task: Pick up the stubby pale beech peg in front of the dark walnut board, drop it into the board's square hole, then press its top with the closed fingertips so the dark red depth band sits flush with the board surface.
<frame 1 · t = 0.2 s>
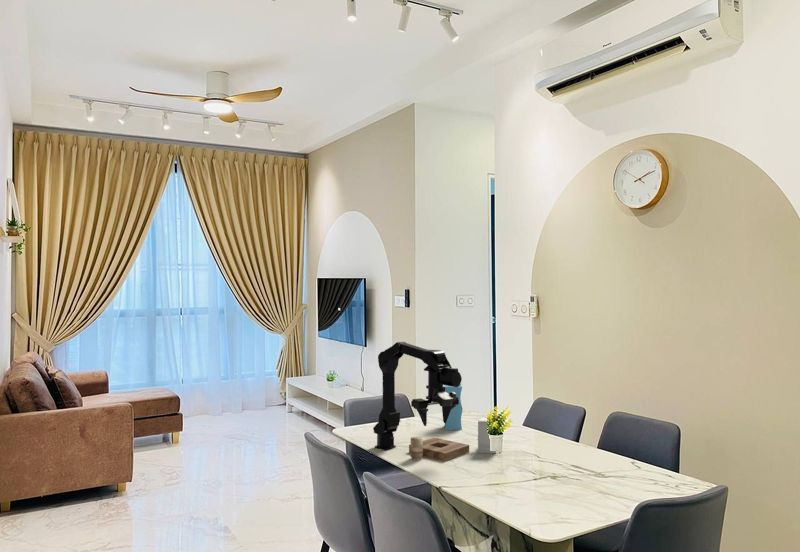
hand: (435, 424, 231), 14 cm above the table, fingers open, 9 cm apart
walnut board: (439, 452, 242), on the table
beech peg: (416, 459, 233), on the table
supplement box: (487, 451, 245), on the table
vase: (453, 428, 283), on the table
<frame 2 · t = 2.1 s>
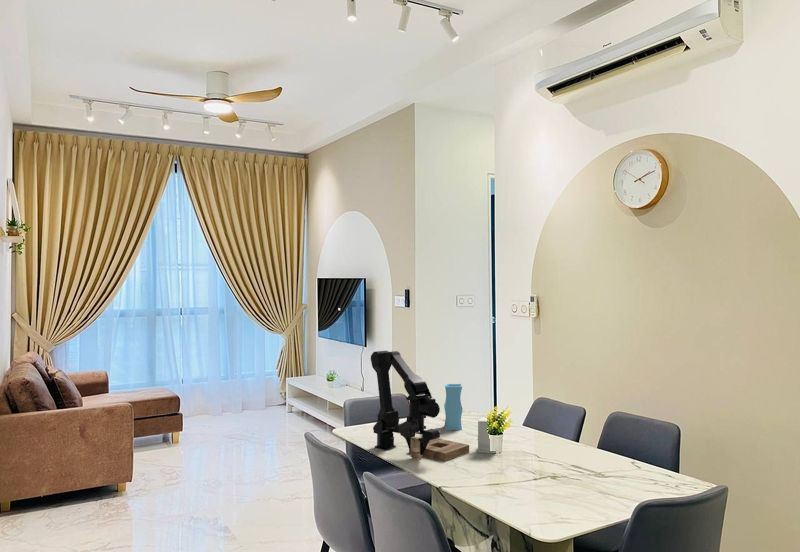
hand: (416, 453, 233), 2 cm above the table, fingers closed on beech peg, 5 cm apart
beech peg: (416, 459, 233), on the table, touching gripper
everything else where it was.
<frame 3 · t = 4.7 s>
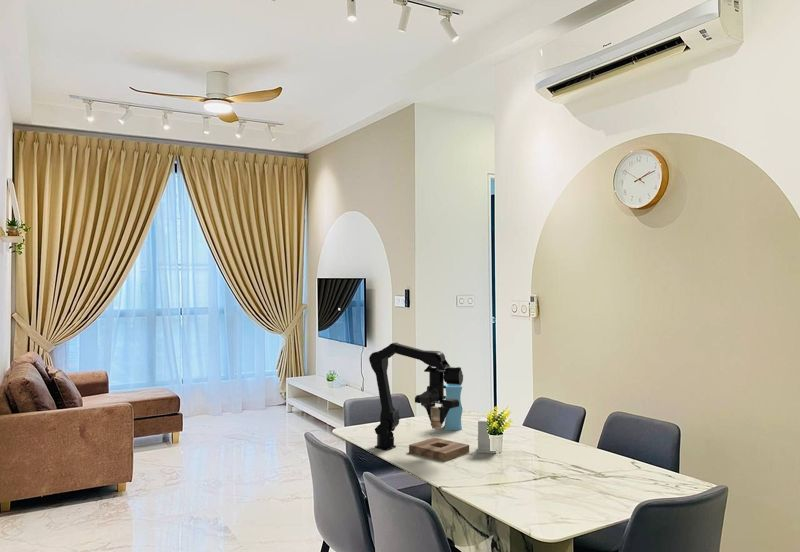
hand: (436, 422, 241), 12 cm above the table, fingers closed on beech peg, 5 cm apart
beech peg: (436, 427, 241), point 10 cm above the table, touching gripper
everything else where it was.
when the fingers open (4 cm above the table, at t = 7.2 s): beech peg drops 2 cm, resting in walnut board.
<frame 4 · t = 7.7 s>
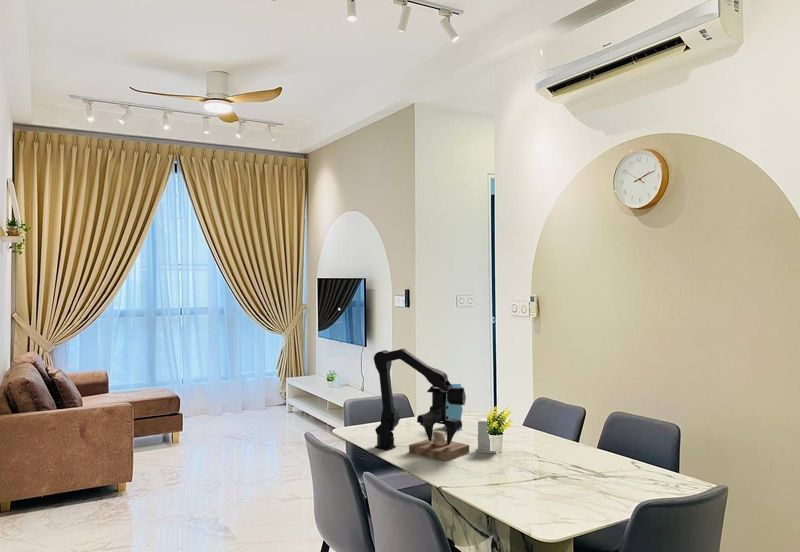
hand: (439, 442, 242), 4 cm above the table, fingers open, 9 cm apart
beech peg: (439, 452, 242), resting in walnut board
everything else where it was.
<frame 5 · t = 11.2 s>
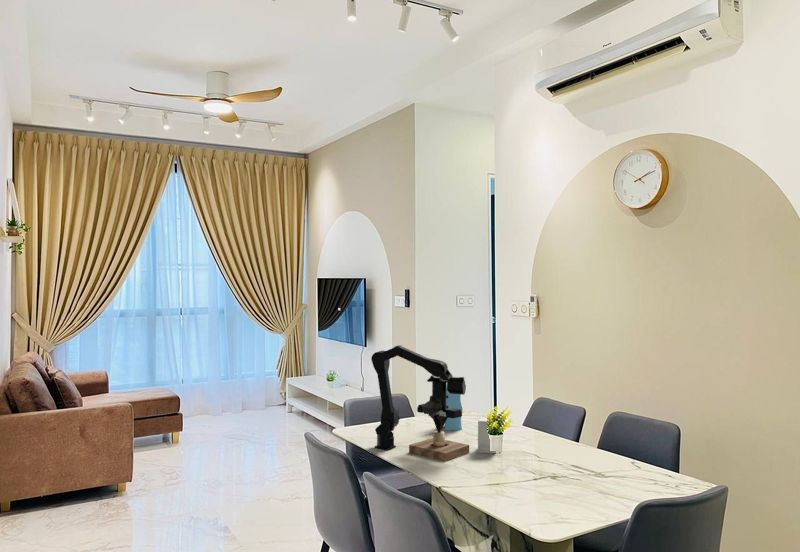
hand: (439, 432, 242), 8 cm above the table, fingers closed, pressing on beech peg
beech peg: (439, 452, 242), resting in walnut board, touching gripper
everything else where it was.
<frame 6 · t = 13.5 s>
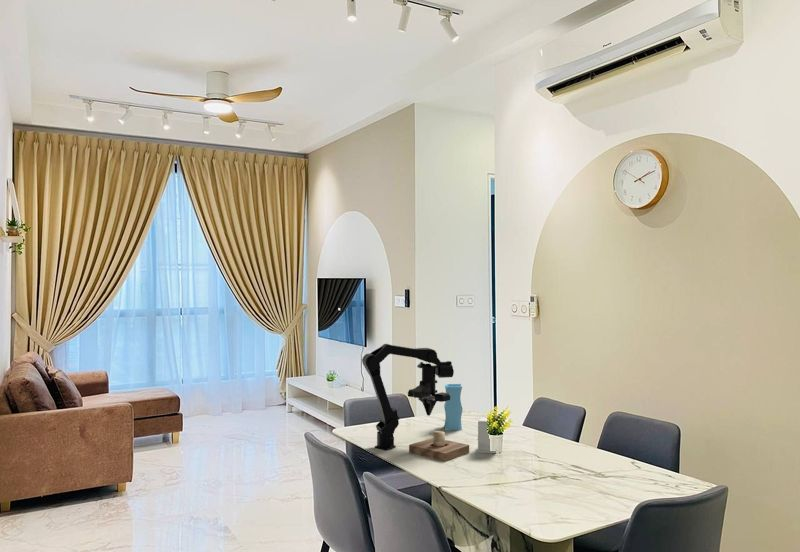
hand: (428, 415, 255), 12 cm above the table, fingers closed
beech peg: (439, 452, 242), resting in walnut board
everything else where it was.
at the end: beech peg 0.0 cm off-centre on the walnut board, point 0.0 cm above the walnut board's base; beech peg tilted 0°; the gripper is holding nothing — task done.
